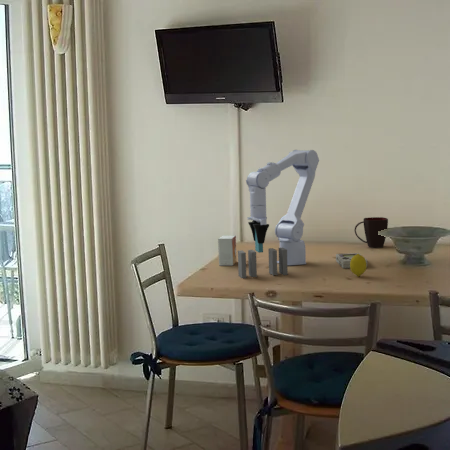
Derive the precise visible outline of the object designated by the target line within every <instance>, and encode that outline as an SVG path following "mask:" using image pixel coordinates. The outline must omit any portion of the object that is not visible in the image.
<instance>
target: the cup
mask: <svg viewBox="0 0 450 450" xmlns="http://www.w3.org/2000/svg"><path fill="white" fill-rule="evenodd" d="M362 224H363V229H364V234H365V235H364V236H365V240H363V239H362V238H361V237H360V236H359V235H358V233H357V228H358V226H359V225H362ZM388 224H389V218H387V217H383V216H380V217H379V216H377V217H375V216H373V217H371V216H370V217H364V218H363V221H360V222H358V223H357V224H356V225H355V226H354V233H355V236H356V238H357V239H358V240H359V241H361V242H363V243H366V245H367V246H368V248H370V249H383V248H384V246H385V245H384V244H385V242H386V238H387V236H386V237H384V236H381V235H378V231H381V230H384V229H387V230H388Z"/></svg>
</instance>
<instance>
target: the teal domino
mask: <svg viewBox="0 0 450 450" xmlns="http://www.w3.org/2000/svg"><path fill="white" fill-rule="evenodd" d="M254 251H255V252H256V253H259V254H260V253H264V243H258V241H257V235H256V231H255V241H254Z"/></svg>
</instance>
